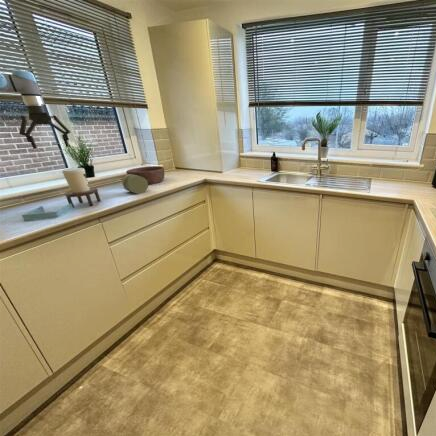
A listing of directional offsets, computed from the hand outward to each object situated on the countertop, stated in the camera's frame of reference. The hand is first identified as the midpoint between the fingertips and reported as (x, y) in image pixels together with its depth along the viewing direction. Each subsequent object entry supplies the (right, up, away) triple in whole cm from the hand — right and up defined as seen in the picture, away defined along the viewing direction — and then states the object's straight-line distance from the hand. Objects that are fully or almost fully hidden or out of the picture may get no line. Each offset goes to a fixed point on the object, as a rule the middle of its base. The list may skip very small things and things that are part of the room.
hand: (51, 147), depth 133 cm
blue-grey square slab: (+10, -37, -11) cm, 40 cm away
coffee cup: (+16, -24, 0) cm, 29 cm away
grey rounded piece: (+31, -22, +26) cm, 46 cm away
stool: (+17, -32, +3) cm, 36 cm away
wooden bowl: (+23, -12, +52) cm, 58 cm away
